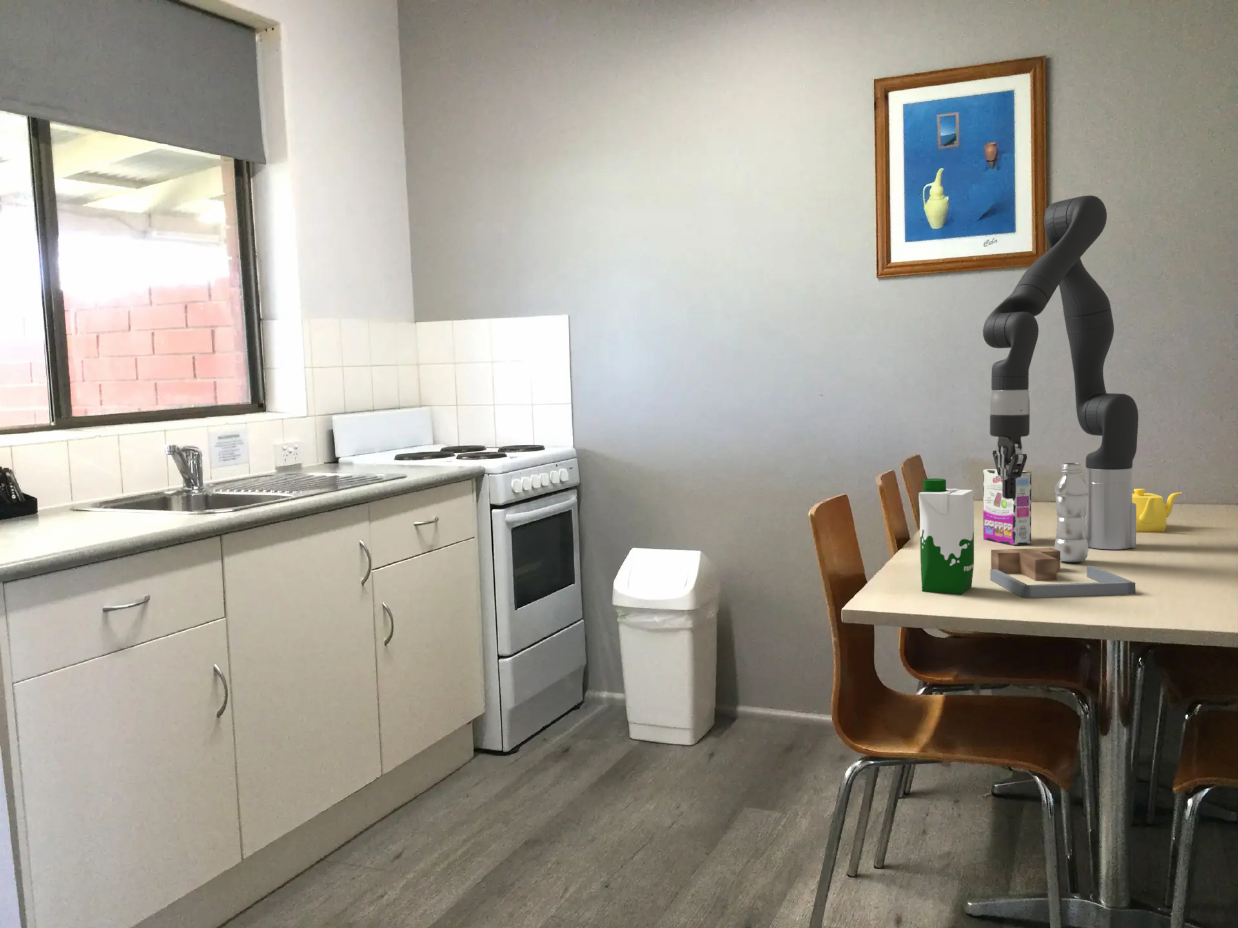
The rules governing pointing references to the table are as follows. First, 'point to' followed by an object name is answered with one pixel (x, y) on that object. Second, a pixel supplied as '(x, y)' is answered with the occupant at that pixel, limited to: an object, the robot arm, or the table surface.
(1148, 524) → the teapot
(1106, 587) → the bay frame
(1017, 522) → the candy bar box
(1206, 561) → the table surface
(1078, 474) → the plastic bottle
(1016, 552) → the t block
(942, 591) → the soya milk
